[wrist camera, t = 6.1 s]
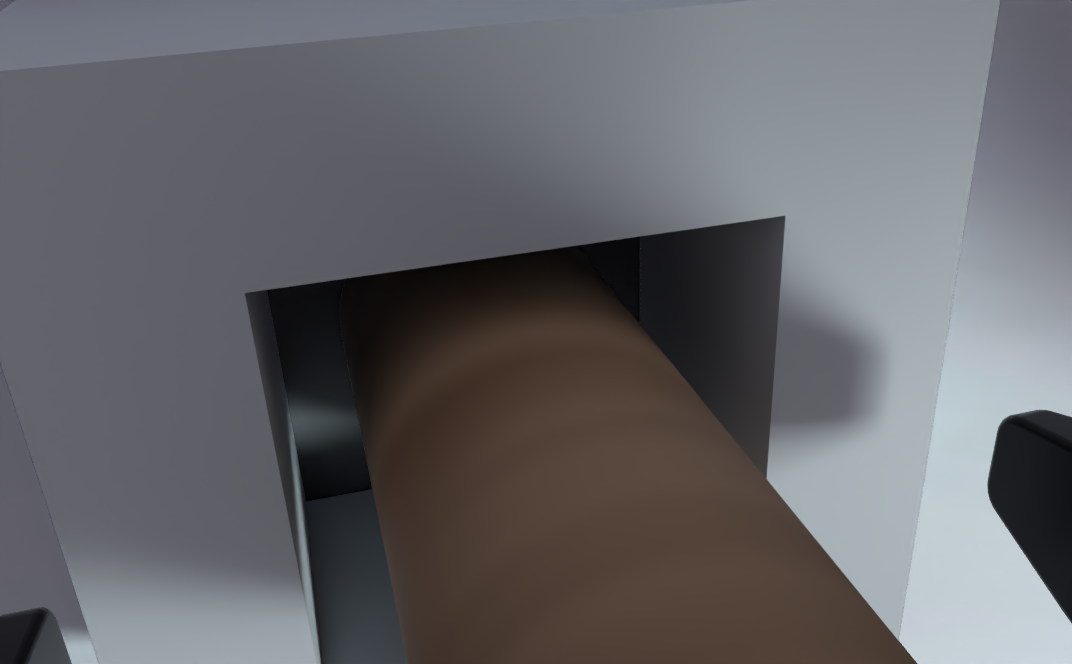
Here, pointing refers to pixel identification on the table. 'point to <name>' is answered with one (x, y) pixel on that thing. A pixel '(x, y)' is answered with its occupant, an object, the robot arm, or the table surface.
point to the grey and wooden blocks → (459, 260)
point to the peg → (573, 484)
